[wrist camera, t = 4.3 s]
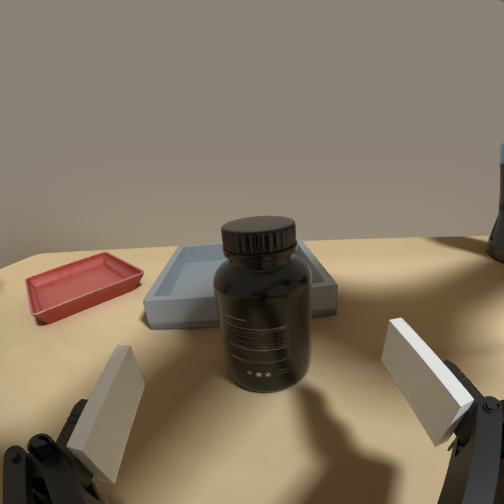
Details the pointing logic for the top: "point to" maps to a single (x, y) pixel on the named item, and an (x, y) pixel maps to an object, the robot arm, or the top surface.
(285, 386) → the supplement bottle
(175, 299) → the tray
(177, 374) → the top surface
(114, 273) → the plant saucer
